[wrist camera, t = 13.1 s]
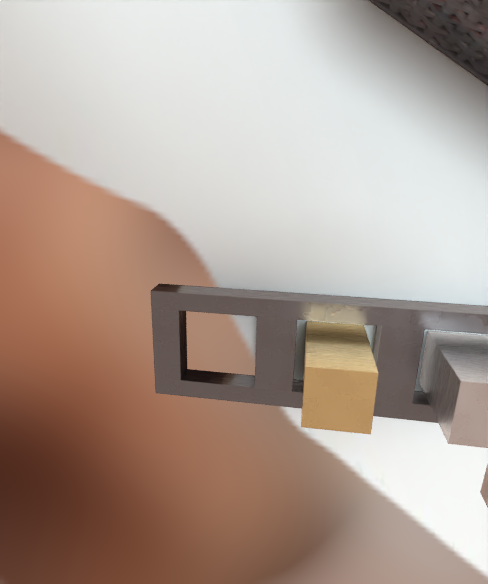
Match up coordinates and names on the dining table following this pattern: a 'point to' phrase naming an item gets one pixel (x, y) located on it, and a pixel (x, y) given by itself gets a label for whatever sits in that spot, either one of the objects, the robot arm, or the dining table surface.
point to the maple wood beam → (338, 378)
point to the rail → (282, 336)
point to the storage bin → (448, 28)
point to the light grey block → (457, 385)
